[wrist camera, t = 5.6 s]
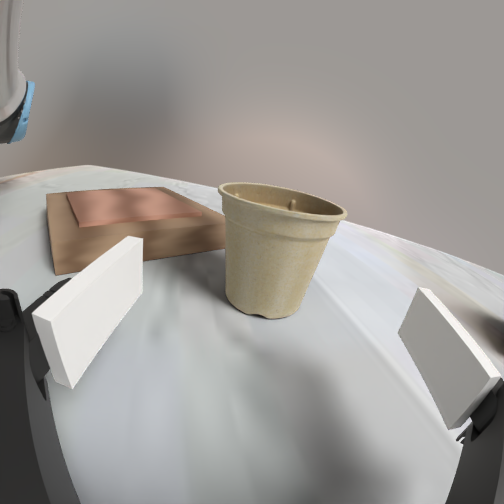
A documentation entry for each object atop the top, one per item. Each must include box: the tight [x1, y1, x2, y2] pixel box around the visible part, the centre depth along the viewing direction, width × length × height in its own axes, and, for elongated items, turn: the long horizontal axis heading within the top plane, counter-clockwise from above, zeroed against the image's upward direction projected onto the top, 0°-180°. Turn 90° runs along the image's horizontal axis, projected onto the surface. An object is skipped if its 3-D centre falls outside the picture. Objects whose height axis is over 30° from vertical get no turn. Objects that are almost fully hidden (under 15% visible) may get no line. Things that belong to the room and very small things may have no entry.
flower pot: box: [218, 182, 347, 319], centre depth 22 cm, size 9×9×9 cm
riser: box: [46, 187, 226, 275], centre depth 32 cm, size 20×20×4 cm
